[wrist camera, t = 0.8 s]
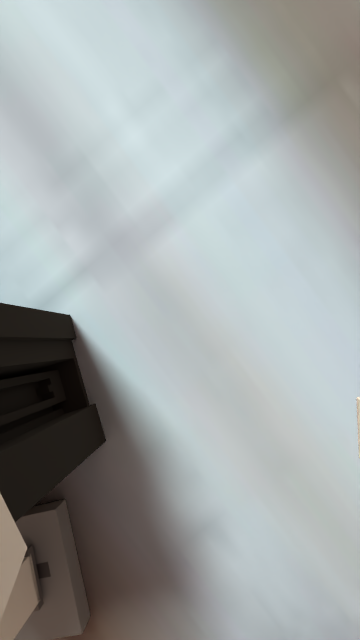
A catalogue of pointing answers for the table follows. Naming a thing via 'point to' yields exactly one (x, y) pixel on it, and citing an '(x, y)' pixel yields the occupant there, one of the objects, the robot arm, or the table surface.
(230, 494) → the table surface
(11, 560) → the robot arm
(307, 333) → the table surface
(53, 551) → the fader panel
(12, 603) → the fader
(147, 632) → the table surface
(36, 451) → the game console
